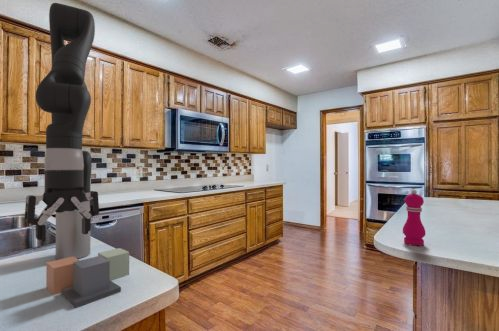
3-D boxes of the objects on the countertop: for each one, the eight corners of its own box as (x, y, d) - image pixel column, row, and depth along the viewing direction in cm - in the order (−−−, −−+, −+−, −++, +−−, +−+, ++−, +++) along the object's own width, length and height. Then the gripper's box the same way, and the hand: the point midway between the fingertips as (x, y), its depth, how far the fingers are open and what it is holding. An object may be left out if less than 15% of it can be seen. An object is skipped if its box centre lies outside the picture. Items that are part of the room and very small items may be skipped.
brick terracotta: (46, 288, 62) (46, 262, 62) (73, 280, 66) (73, 256, 66) (53, 295, 59) (53, 268, 59) (81, 286, 63) (81, 261, 63)
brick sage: (98, 276, 69) (98, 252, 69) (119, 269, 73) (119, 247, 73) (107, 282, 66) (107, 257, 66) (129, 274, 70) (129, 252, 70)
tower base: (61, 293, 59) (61, 262, 59) (104, 280, 66) (104, 252, 66) (75, 307, 54) (75, 273, 54) (120, 291, 60) (120, 260, 60)
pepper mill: (425, 247, 93) (426, 190, 93) (402, 244, 97) (402, 189, 97) (425, 242, 100) (425, 189, 100) (402, 239, 103) (403, 188, 103)
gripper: (91, 168, 71) (91, 229, 70) (21, 168, 59) (21, 241, 59) (103, 168, 66) (103, 234, 66) (30, 168, 55) (30, 247, 55)
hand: (64, 237), depth 62 cm, fingers open, 8 cm apart
